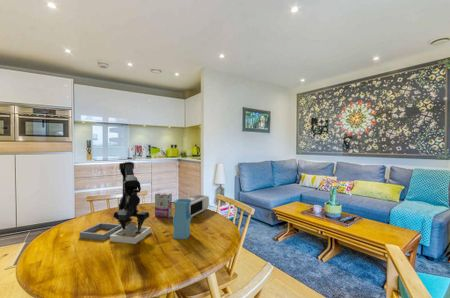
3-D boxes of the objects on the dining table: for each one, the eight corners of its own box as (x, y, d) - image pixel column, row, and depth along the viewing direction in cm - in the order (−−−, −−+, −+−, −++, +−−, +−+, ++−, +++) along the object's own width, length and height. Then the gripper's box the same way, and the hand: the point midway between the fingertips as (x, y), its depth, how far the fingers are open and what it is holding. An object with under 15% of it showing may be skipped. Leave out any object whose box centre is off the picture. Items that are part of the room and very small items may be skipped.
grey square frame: (100, 227, 132) (100, 222, 132) (122, 229, 129) (122, 224, 129) (79, 237, 117) (79, 232, 117) (103, 240, 114) (103, 234, 114)
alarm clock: (189, 220, 147) (189, 202, 147) (178, 217, 151) (178, 201, 150) (208, 209, 172) (209, 194, 171) (199, 207, 175) (199, 193, 175)
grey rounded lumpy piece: (138, 233, 123) (138, 221, 123) (134, 239, 116) (134, 226, 116) (127, 233, 123) (127, 221, 123) (122, 239, 116) (122, 226, 116)
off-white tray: (128, 230, 128) (128, 225, 128) (151, 232, 125) (151, 227, 125) (109, 241, 113) (109, 235, 113) (135, 243, 110) (135, 238, 110)
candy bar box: (172, 216, 154) (172, 193, 154) (168, 218, 149) (168, 194, 149) (158, 214, 157) (158, 192, 157) (154, 216, 153) (154, 193, 152)
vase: (186, 239, 116) (186, 202, 116) (172, 238, 118) (172, 201, 117) (191, 233, 124) (191, 199, 124) (178, 232, 125) (178, 198, 125)
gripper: (106, 205, 113) (106, 234, 113) (137, 207, 109) (137, 237, 109) (120, 199, 124) (120, 226, 124) (149, 201, 120) (149, 229, 120)
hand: (131, 230), depth 119 cm, fingers open, 9 cm apart
